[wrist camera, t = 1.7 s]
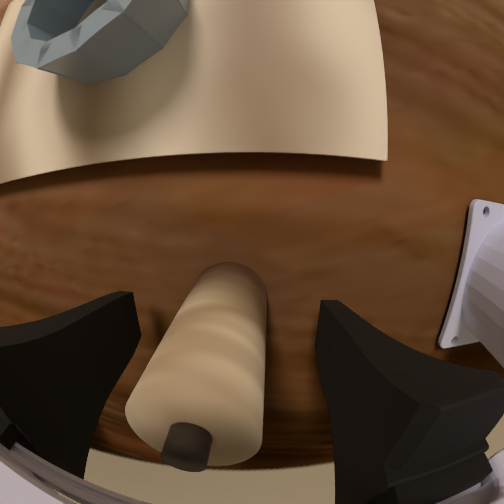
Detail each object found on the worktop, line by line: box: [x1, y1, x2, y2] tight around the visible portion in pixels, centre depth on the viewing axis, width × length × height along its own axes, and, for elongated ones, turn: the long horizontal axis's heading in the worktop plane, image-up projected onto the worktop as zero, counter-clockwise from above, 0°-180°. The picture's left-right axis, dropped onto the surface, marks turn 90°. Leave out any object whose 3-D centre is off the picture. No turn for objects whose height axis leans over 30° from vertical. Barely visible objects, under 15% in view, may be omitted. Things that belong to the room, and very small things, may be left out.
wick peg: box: [125, 262, 267, 472], centre depth 8 cm, size 3×3×8 cm
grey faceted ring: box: [11, 0, 189, 85], centre depth 6 cm, size 7×7×4 cm
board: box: [0, 0, 387, 184], centre depth 8 cm, size 22×14×1 cm, turn 90°
